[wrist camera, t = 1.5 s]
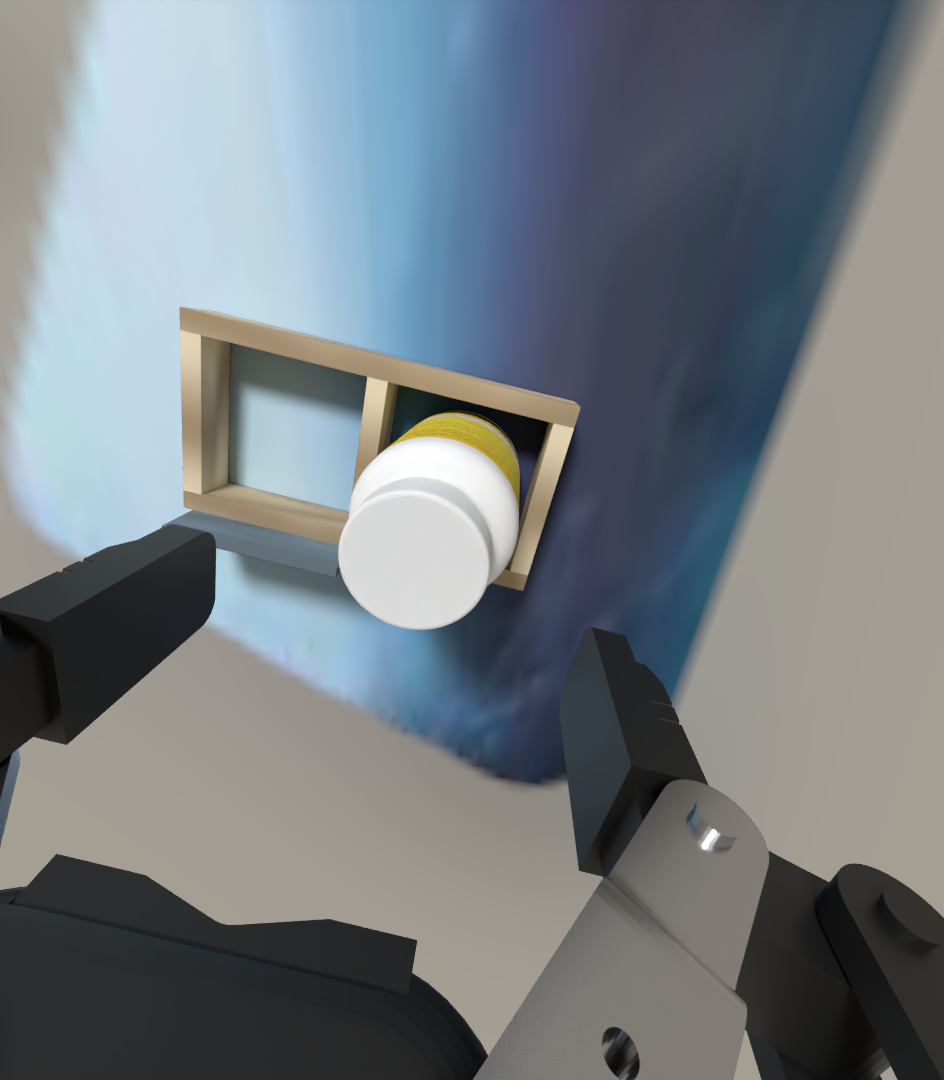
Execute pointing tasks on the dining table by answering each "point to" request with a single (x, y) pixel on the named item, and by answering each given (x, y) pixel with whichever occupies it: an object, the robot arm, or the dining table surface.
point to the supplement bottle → (432, 521)
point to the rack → (315, 530)
